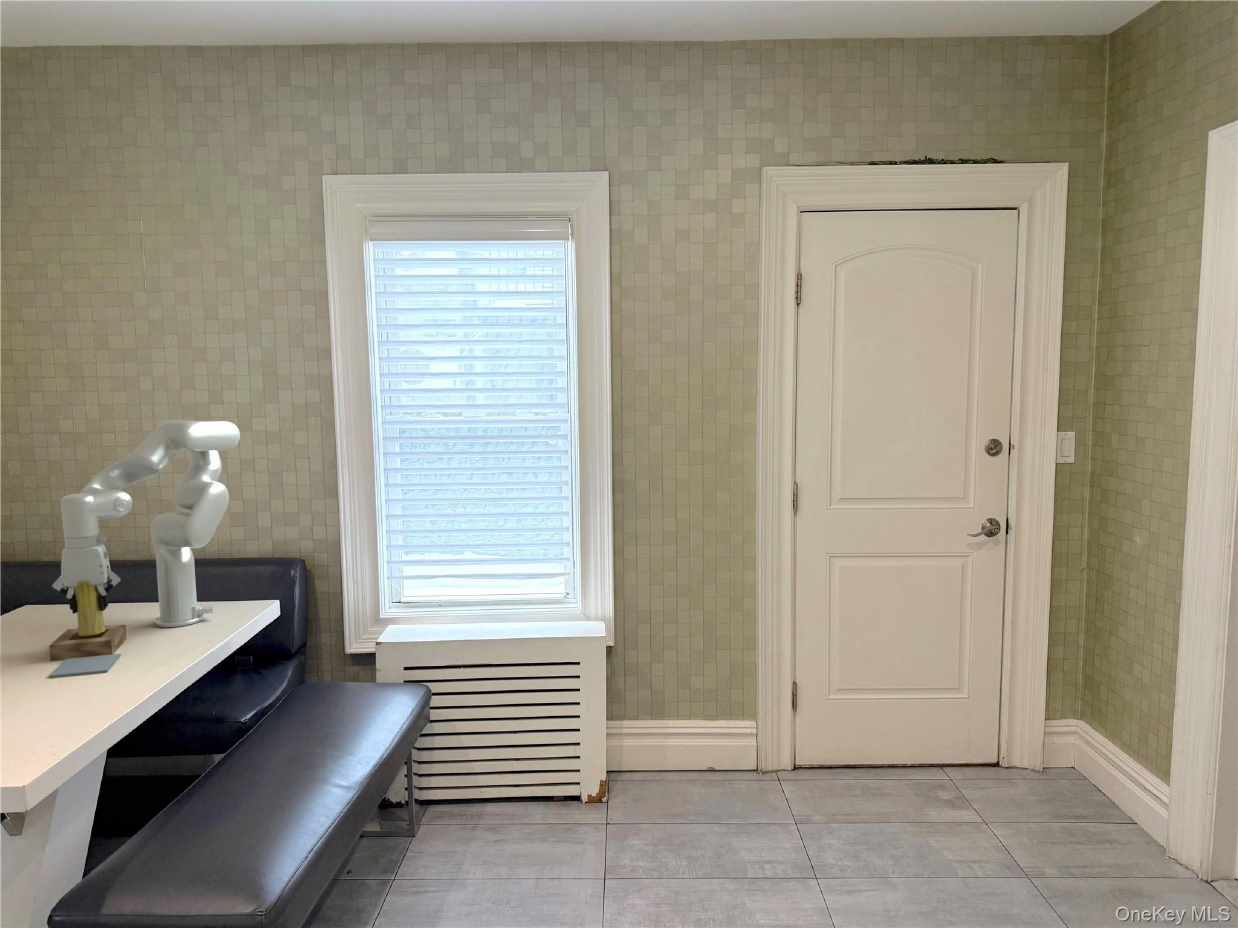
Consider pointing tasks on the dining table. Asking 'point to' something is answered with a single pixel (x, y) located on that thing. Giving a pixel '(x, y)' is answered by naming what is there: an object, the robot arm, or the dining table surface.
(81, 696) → the dining table surface
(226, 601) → the dining table surface
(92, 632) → the vase
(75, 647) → the collar
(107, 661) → the mat
